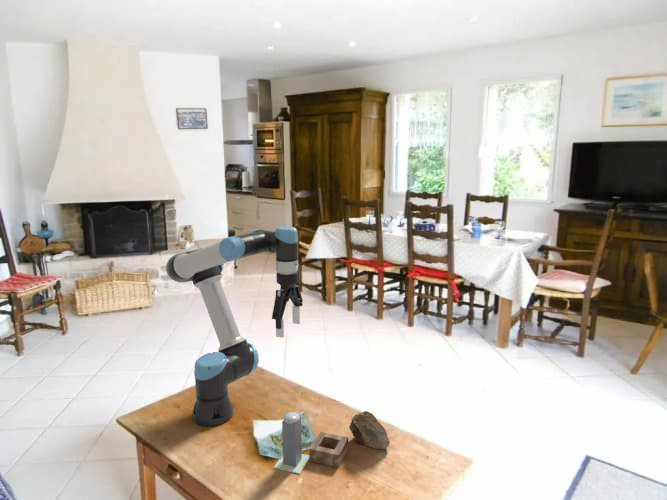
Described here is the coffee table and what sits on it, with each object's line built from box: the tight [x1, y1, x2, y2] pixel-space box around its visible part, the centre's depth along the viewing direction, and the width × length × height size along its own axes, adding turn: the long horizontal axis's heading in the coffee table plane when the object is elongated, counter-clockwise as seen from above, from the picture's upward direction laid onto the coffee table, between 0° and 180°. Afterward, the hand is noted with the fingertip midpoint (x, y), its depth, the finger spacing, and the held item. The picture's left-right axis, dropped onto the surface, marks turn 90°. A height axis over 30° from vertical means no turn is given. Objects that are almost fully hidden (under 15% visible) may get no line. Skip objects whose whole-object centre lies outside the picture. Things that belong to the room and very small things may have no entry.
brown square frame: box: [309, 431, 349, 468], centre depth 156 cm, size 10×10×4 cm
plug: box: [281, 411, 303, 467], centre depth 151 cm, size 5×5×16 cm
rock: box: [349, 410, 391, 450], centre depth 162 cm, size 15×8×15 cm
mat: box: [273, 453, 310, 475], centre depth 153 cm, size 9×9×1 cm
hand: (288, 329), depth 167 cm, fingers open, 13 cm apart
